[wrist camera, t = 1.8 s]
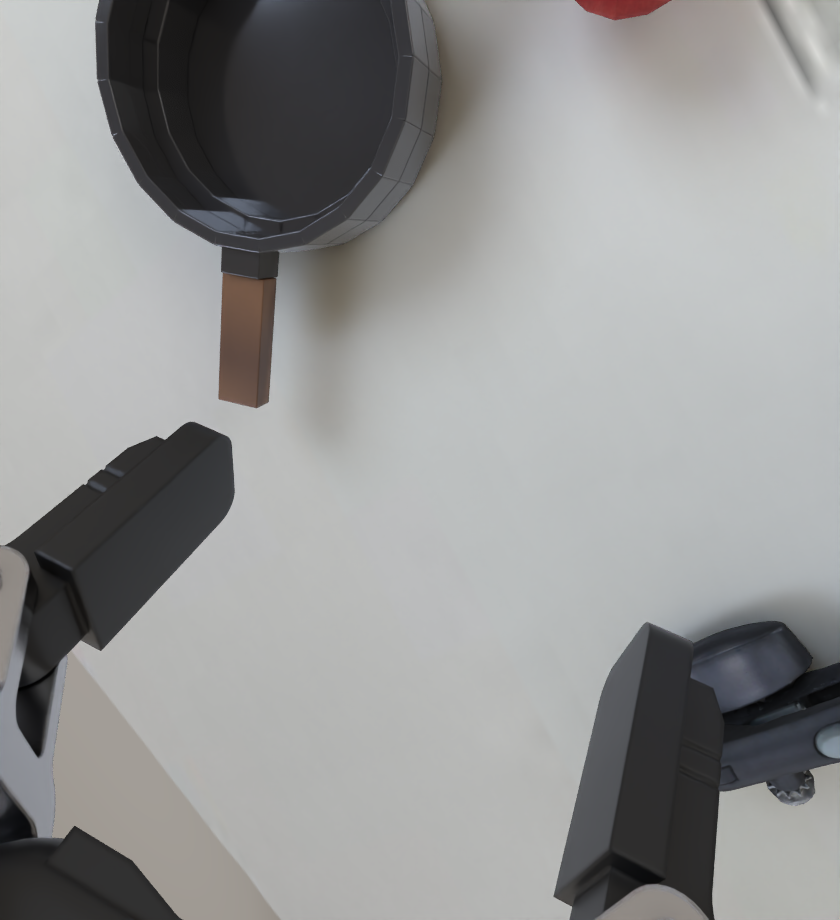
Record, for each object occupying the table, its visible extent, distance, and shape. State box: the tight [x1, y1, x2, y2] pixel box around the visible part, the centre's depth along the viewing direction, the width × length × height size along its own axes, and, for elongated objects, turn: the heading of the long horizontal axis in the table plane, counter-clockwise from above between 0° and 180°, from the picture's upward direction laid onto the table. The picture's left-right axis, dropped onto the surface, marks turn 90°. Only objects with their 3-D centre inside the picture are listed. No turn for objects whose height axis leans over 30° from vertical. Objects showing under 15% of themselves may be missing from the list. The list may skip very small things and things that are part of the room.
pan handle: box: [219, 247, 279, 408], centre depth 29 cm, size 7×2×2 cm, turn 172°
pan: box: [95, 0, 442, 253], centre depth 27 cm, size 13×13×5 cm
